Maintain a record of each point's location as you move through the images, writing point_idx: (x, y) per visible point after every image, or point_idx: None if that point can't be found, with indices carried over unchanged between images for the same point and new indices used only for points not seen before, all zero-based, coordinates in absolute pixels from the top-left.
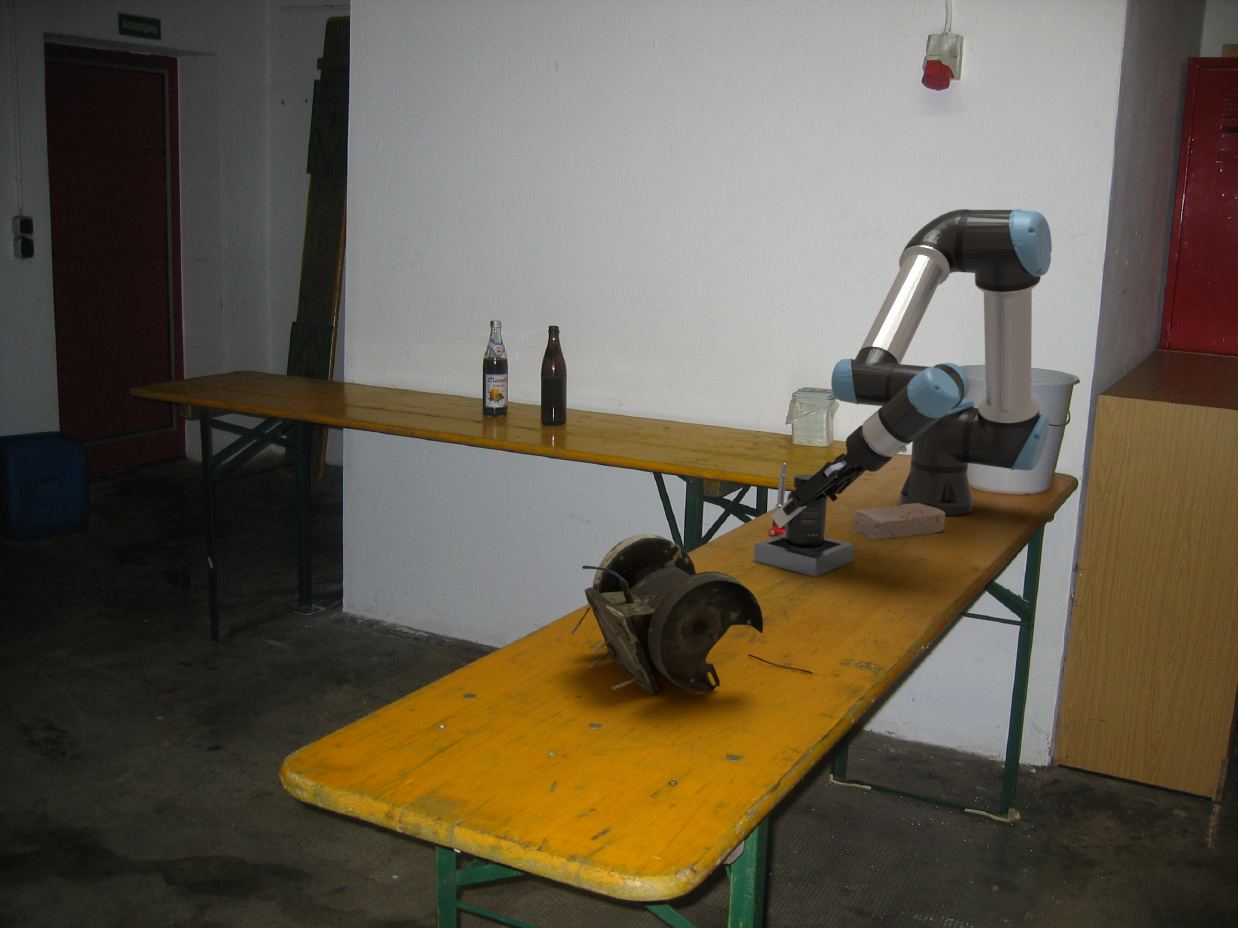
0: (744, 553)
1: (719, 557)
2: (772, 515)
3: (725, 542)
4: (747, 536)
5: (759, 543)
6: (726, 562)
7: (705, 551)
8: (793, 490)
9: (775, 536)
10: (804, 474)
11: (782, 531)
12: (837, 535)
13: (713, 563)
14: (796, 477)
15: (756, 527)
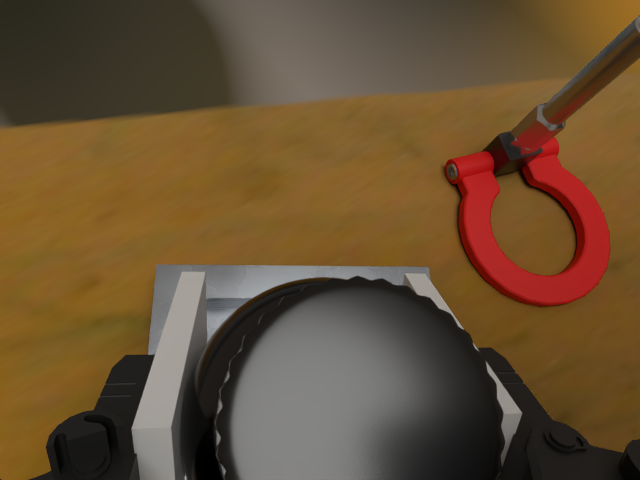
0: (225, 214)
1: (127, 183)
2: (180, 279)
3: (284, 116)
4: (386, 129)
5: (171, 276)
6: (91, 227)
7: (156, 122)
8: (68, 443)
9: (303, 266)
10: (433, 316)
11: (477, 193)
12: (628, 316)
13: (51, 204)
14: (255, 338)
15: (479, 102)
